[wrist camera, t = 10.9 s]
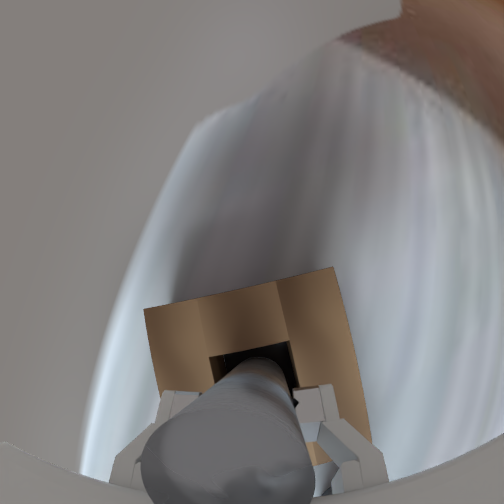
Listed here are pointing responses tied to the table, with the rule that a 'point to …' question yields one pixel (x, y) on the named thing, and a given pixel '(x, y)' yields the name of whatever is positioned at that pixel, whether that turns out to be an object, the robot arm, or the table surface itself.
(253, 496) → the long pin
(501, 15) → the table surface
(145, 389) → the table surface
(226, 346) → the hole block
